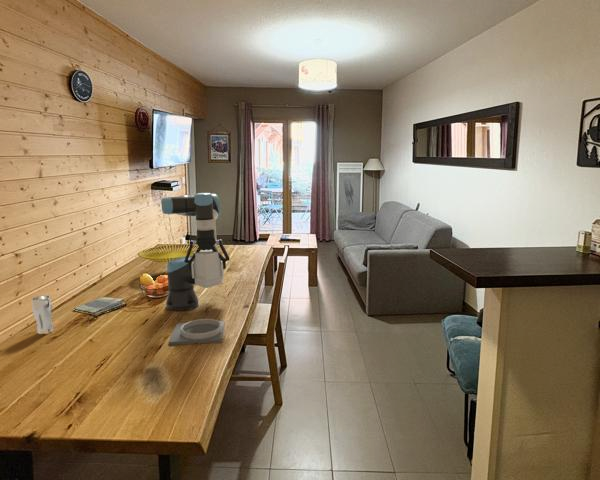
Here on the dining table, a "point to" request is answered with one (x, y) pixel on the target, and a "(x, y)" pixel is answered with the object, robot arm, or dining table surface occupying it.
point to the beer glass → (42, 313)
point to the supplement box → (207, 268)
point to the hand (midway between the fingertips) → (208, 276)
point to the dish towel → (100, 305)
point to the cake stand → (166, 256)
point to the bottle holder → (197, 332)
